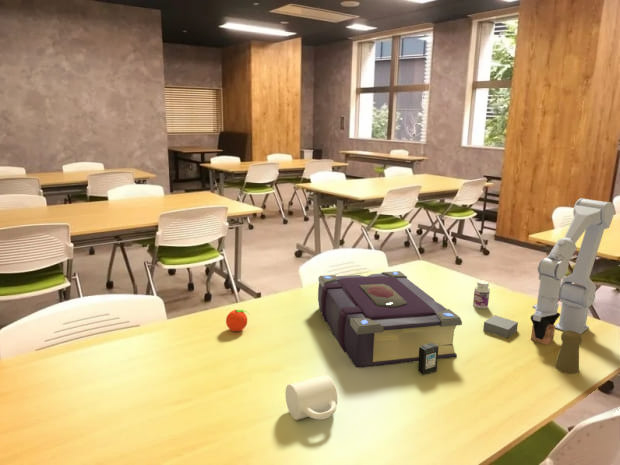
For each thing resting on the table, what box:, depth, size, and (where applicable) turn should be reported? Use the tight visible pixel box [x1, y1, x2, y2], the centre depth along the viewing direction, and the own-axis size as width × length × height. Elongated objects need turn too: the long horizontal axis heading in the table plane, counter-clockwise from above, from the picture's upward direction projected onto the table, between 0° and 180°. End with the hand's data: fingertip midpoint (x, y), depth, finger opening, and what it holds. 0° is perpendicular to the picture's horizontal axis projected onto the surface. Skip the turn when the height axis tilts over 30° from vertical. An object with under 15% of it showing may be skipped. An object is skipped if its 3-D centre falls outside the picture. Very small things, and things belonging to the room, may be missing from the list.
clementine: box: [225, 309, 249, 332], centre depth 151 cm, size 8×7×7 cm
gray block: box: [482, 314, 519, 339], centre depth 154 cm, size 8×8×4 cm
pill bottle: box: [472, 280, 491, 309], centre depth 174 cm, size 5×5×10 cm
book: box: [317, 270, 463, 369], centre depth 152 cm, size 33×45×14 cm
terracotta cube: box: [530, 324, 556, 346], centre depth 148 cm, size 5×5×5 cm
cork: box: [554, 331, 583, 375], centre depth 130 cm, size 6×6×11 cm
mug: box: [284, 374, 338, 421], centre depth 107 cm, size 12×10×8 cm
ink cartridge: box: [417, 343, 439, 376], centre depth 127 cm, size 5×2×8 cm, turn 117°
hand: (542, 335), depth 148 cm, fingers closed on terracotta cube, 5 cm apart
